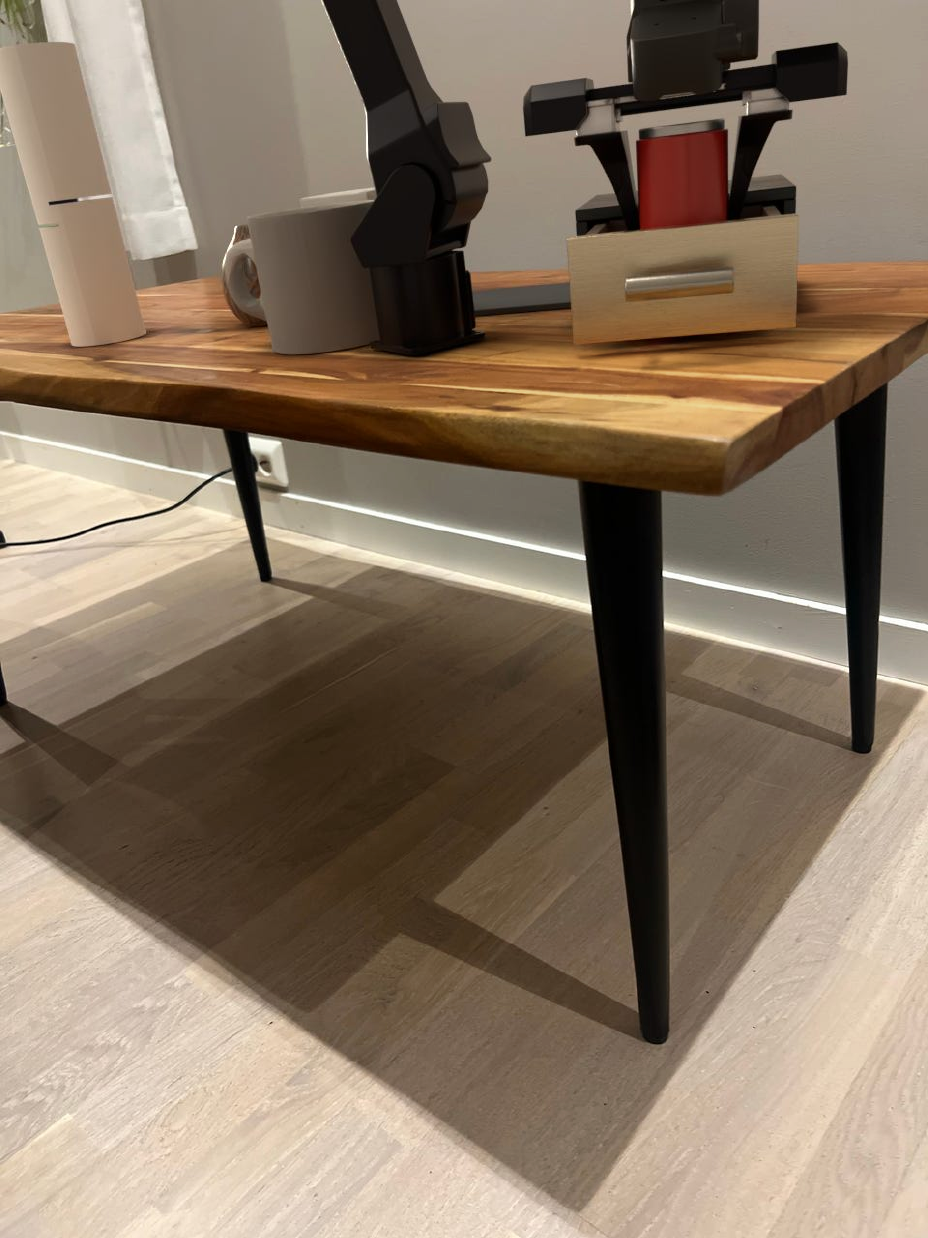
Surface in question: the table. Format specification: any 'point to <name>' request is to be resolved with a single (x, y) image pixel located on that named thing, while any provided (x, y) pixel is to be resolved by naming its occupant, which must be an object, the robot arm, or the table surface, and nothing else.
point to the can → (682, 174)
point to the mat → (522, 299)
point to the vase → (250, 280)
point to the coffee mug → (307, 278)
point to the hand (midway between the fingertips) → (683, 242)
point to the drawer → (684, 277)
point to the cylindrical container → (70, 191)
